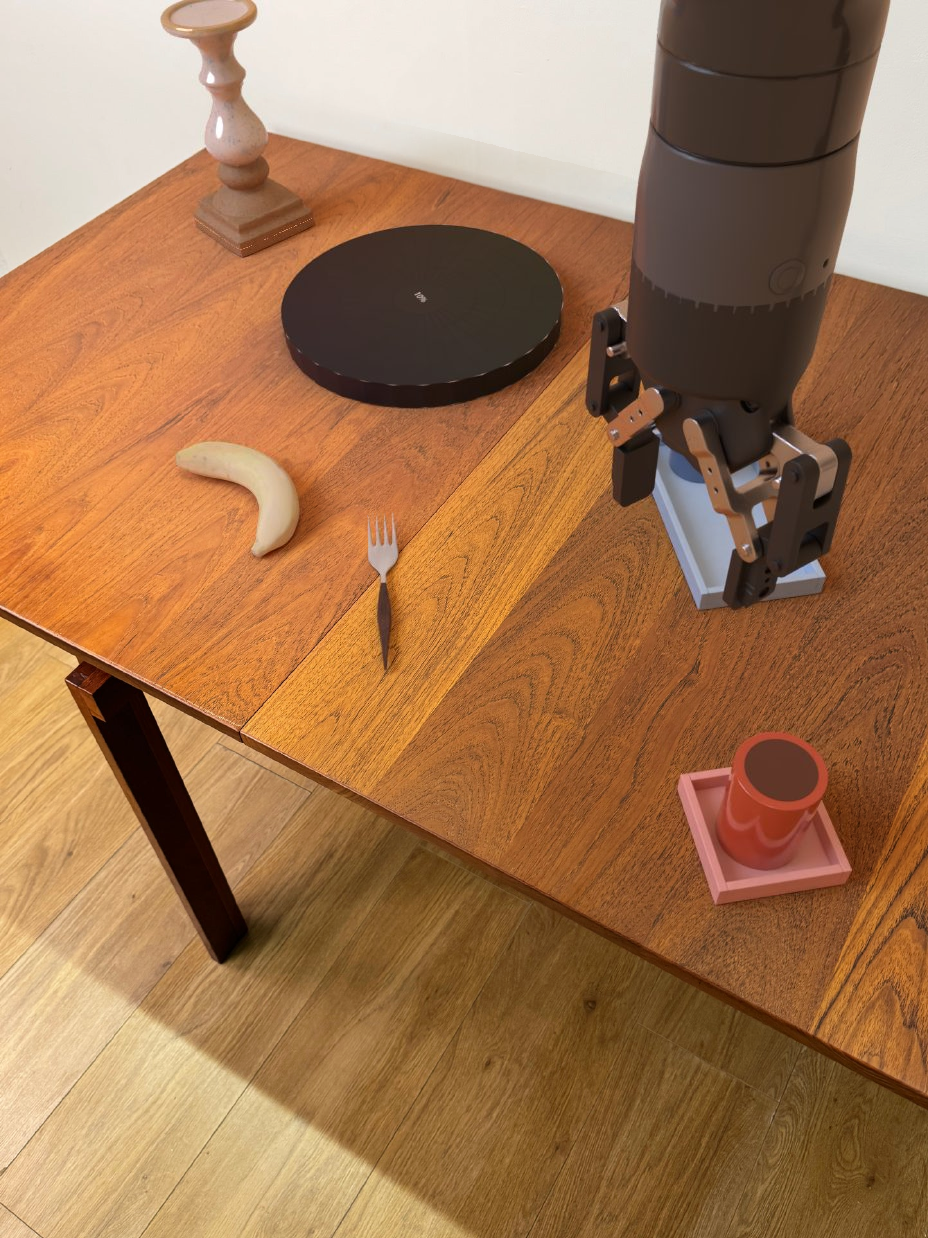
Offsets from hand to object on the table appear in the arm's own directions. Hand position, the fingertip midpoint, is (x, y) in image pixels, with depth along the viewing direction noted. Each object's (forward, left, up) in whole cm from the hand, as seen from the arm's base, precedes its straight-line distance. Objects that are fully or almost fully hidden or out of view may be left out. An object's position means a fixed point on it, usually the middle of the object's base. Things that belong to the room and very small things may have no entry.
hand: (685, 545), depth 50 cm
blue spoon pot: (-14, -33, -25) cm, 44 cm away
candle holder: (+26, -86, -26) cm, 94 cm away
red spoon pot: (-7, +4, -25) cm, 26 cm away
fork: (+16, -22, -26) cm, 38 cm away
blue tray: (-14, -26, -26) cm, 39 cm away
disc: (+8, -61, -26) cm, 67 cm away
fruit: (+28, -36, -26) cm, 52 cm away
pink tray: (-7, +4, -26) cm, 27 cm away
